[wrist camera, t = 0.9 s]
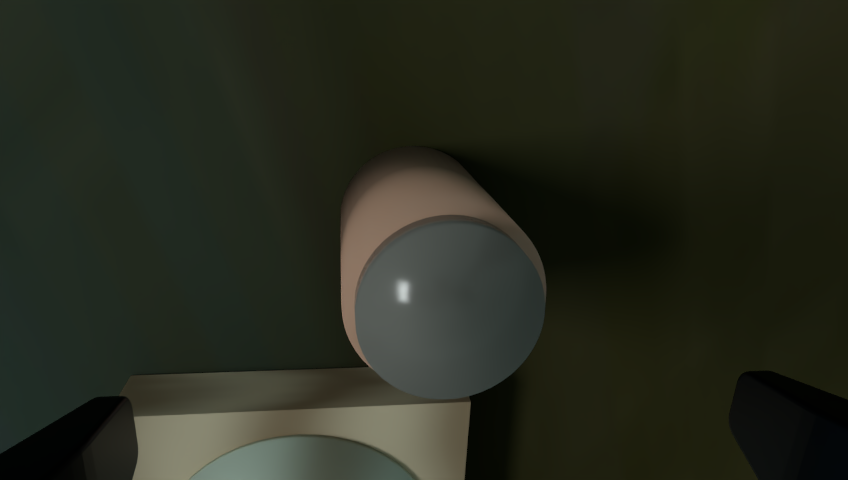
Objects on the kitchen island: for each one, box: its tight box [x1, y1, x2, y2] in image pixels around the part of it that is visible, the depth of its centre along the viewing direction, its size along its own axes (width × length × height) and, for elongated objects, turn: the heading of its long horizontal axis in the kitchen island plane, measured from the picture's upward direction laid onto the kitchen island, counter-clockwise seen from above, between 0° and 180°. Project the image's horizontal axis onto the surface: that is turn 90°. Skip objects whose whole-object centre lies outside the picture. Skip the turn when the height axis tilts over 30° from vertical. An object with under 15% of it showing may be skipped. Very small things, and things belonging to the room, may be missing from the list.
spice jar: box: [340, 146, 546, 399], centre depth 17 cm, size 5×5×8 cm
